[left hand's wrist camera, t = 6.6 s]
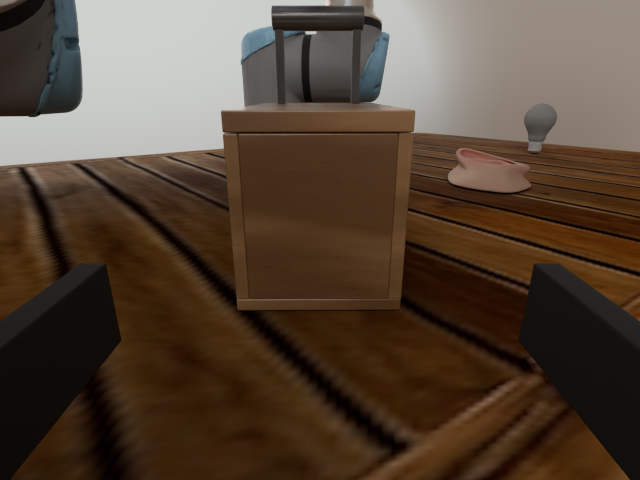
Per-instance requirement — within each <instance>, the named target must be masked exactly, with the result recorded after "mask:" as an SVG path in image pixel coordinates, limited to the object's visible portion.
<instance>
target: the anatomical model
mask: <svg viewBox="0 0 640 480" xmlns="http://www.w3.org/2000/svg"><path fill="white" fill-rule="evenodd" d="M456 157H457V160H458V161H459V165H458V166H457V167H456V168H454V169H453V170H452V171H451V172H450V173H449V174H448V180H449V182H450V183H452V184H454V185H457V186H460V187H465V188H471V189H477V190H484V191H491V192H501V193H513V192H519V191H522V190H525V189H528V188H530V187H531V184H530V183H529V182H528V181H527V180H526V179H525V178H524V175H525V174H527V173H528V172H529V171H530V167H529V166H528V165H525V164H521V163H517V162H514V161H511V160H508V159H504V158H501V157H497V156H493V155H490V154H486V153H483V152H479V151H476V150H471V149H466V148H461V149H458V150H457V152H456Z"/></svg>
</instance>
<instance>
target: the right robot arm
mask: <svg viewBox="0 0 640 480" xmlns="http://www.w3.org/2000/svg"><path fill="white" fill-rule="evenodd" d="M326 6H364V27H363V31H361V57H360V90H359V103H364V102H372V101H374V100H376V99H377V98H378V96H379V94H380V89H381V84H382V78H383V73H384V67H385V61H386V55H387V49H388V42H389V34H387V33H385V32H382V33H381V30H382V22H381V20H380V19H379V18H378V17H377V15H376V14H375V13H374V0H326ZM284 51H285V85H286V103H350V100H351V58H352V31H317V33H316V34H312V35H306V31H284ZM241 65H242V73H243V87H244V102H245V107H246V106H251V105H257V104H263V103H277V80H276V52H275V31H273V27H272V26H270V27H265V28H260V29H256V30H253V31H251V32H249V33H247V34H246V35H245V36H244V38H243V40H242V59H241Z"/></svg>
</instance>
